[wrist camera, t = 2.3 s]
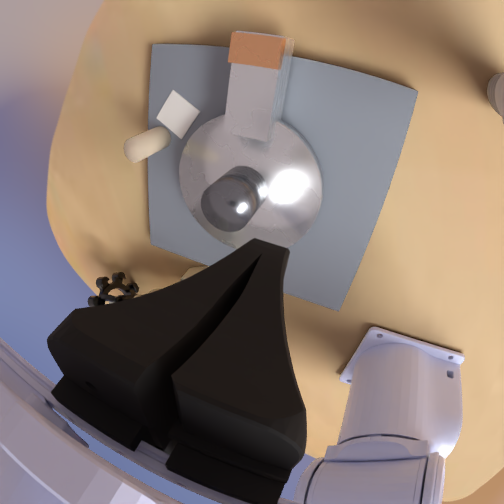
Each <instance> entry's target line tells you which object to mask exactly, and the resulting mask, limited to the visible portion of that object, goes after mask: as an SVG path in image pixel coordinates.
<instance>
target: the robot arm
mask: <svg viewBox="0 0 504 504" xmlns="http://www.w3.org/2000/svg"><path fill="white" fill-rule="evenodd" d="M289 255H290V251H289V249H288V248H285V247H282V246H279V245H276V244H272V243H269V242H266V241H263V240H260V239H256V238H253V239H251V240H250V241H248V242H247V243H245V244H244V245H242V246H241V247H239V248H238V249H236V250H235V251H233V252H232V253H230V254H229V255H227V256H226V257H224V258H222V259H221V260H219V261H217V262H216V263H214V264H213V265H211V266H209V267H207V268H205V269H203V270H202V271H200V272H198V273H196V274H194V275H192V276H190V277H188V278H186V279H184V280H182V281H180V282H178V283H175V284H173V285H171V286H168V287H166V288H163V289H160V290H157V291H154V292H151V293H148V294H145V295H142V296H139V297H135V298H131V299H128V300H124V301H119V302H115V303H110V304H105V305H99V306H93V307H87V308H79V309H75V310H74V311H72V312H71V313H70V314H69V315H68V316H67V318H65V320H64V321H63V322H62V323H61V324H60V325H59V326H58V327H57V328H56V329H55V330H54V331H53V332H52V334H50V335H49V337H48V339H47V344H48V348H49V350H50V352H51V354H52V356H53V358H54V359H55V361H56V363H57V364H58V366H59V368H60V369H61V371H62V372H63V374H64V376H63V377H62V379H61V380H60V381H59V382H58V384H57V385H56V384H54V383H53V382H52V381H50V380H49V379H48V378H47V377H45V376H44V375H43V374H41V373H40V372H39V371H38V370H37V369H35V368H34V367H33V366H32V365H31V364H29V363H28V362H27V361H26V360H25V359H23V358H22V357H21V356H20V355H19V354H17V352H15V351H14V350H13V349H12V348H11V347H10V346H9V345H8V344H7V343H6V342H4V341H3V340H2V339H1V338H0V504H183V503H181V502H179V501H177V500H175V499H173V498H170V497H169V496H167V495H165V494H163V493H161V492H159V491H157V490H155V489H154V488H152V487H150V486H148V485H146V484H145V483H143V482H141V481H139V480H138V479H136V478H134V477H132V476H131V475H129V474H127V473H125V472H124V471H122V470H120V469H119V468H117V467H116V466H114V465H113V464H111V463H109V462H108V461H106V460H104V459H103V458H102V457H100V456H98V455H97V454H95V453H94V452H92V451H91V450H89V449H88V448H89V446H88V444H87V443H86V442H85V441H84V440H83V439H82V438H80V437H79V436H78V435H77V434H76V433H75V432H74V431H73V430H72V429H71V427H70V426H69V425H68V423H67V422H66V421H65V420H64V419H62V418H61V417H60V416H59V415H58V414H57V413H56V412H54V411H53V409H52V408H54V409H55V410H56V411H57V412H59V413H60V414H61V415H63V416H64V417H65V418H67V419H68V420H69V421H71V422H72V423H73V424H75V425H76V426H78V427H79V428H81V429H82V430H83V431H85V432H86V433H88V434H89V435H91V436H92V437H94V438H95V439H97V440H98V441H100V442H101V443H103V444H104V445H106V446H108V447H109V448H111V449H112V450H114V451H115V452H117V453H119V454H120V455H122V456H124V457H126V458H127V459H129V460H131V461H133V462H134V463H136V464H138V465H140V466H141V467H143V468H145V469H147V470H149V471H151V472H153V473H155V474H156V475H159V476H160V477H162V478H165V479H166V480H169V481H171V482H173V483H175V484H177V485H179V486H181V487H184V488H185V489H188V490H190V491H192V492H195V493H197V494H199V495H202V496H204V497H207V498H209V499H211V500H214V501H217V502H219V503H222V504H442V497H443V488H444V477H445V458H446V457H447V456H448V455H449V454H450V452H451V451H452V450H453V448H454V446H455V445H456V442H457V440H458V438H459V435H460V431H461V427H462V418H463V413H462V387H461V372H460V365H461V363H462V362H463V361H464V360H465V356H464V354H462V353H459V352H455V351H452V350H449V349H446V348H442V347H439V346H436V345H432V344H429V343H426V342H423V341H419V340H416V339H413V338H410V337H407V336H403V335H400V334H397V333H394V332H391V331H388V330H385V329H382V328H378V327H371V328H370V329H369V330H368V332H367V333H366V335H365V337H364V338H363V340H362V342H361V343H360V345H359V347H358V348H357V350H356V351H355V353H354V355H353V356H352V358H351V359H350V361H349V362H348V364H347V366H346V367H345V369H344V370H343V372H342V373H341V375H340V378H339V380H340V381H341V382H344V383H347V384H351V386H350V391H349V396H348V400H347V405H346V409H345V413H344V418H343V422H342V426H341V430H340V434H339V438H338V442H337V445H334V446H328V447H327V451H326V454H325V457H321V458H317V459H315V460H314V461H313V462H312V463H311V464H310V465H309V466H308V467H307V468H306V469H305V471H304V472H303V474H302V475H301V477H300V479H299V481H298V484H297V487H296V490H295V495H294V501H291V500H287V499H284V498H280V495H281V493H282V490H283V488H284V485H285V483H287V481H288V479H289V476H290V473H291V470H292V469H293V468H294V467H295V466H296V465H297V464H298V463H299V461H300V460H301V459H302V458H303V456H304V453H305V448H306V440H307V421H306V408H305V405H304V403H303V400H302V397H301V394H300V391H299V388H298V385H297V381H296V378H295V374H294V370H293V366H292V362H291V357H290V353H289V348H288V343H287V336H286V329H285V321H284V307H283V283H284V276H285V272H286V268H287V263H288V259H289ZM379 334H381V335H379Z"/></svg>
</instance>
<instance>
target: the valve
mask: <svg viewBox="0 0 504 504" xmlns="http://www.w3.org/2000/svg"><path fill="white" fill-rule="evenodd" d="M207 267H208V266H203V267H192V268H189V269H188V270H187V272H186V273H185V274H184V275H183V276H182V277H181V281H182V280H184V279H186V278H188V277H190V276H192V275H194V274H196V273H198V272H200V271H202V270H203V269H205V268H207ZM123 279H126V277H125V274H124V273H123V272H116V273H114V274H113V275H112V281H113V282H112V283H110V284H109V283H108V282H107V281H108V280H109V278H108V277H99V278H97V280H96V285H97V287H98V288H100V294H99V296H90V297H89V298H88V304H89V306H90V307H93V306H99V305H105V301H109V304H110V303H115V302H119V301H124V300H128V299H131V298H135V297H139V296H142V295H137V294H136V293H138V291H139V287H138V285H137V284H136V283H128V284H127V285H126V286H125V285H124V284H122V281H123ZM179 282H180V281H179ZM177 283H178V282H177ZM115 288H116V289H119V290H120V291H122V292H123V294H124V295H118V296H112V295H108V293H109V292H110V291H111V290H112V289H115ZM157 290H160V289H154V290H152V291H150V292H149V293H151V292H154V291H157Z"/></svg>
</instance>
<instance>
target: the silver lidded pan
mask: <svg viewBox="0 0 504 504" xmlns="http://www.w3.org/2000/svg"><path fill="white" fill-rule="evenodd" d="M294 44H295V39H292V38H288V37H285V36H278V35H271V34H264V33H255V32H246V31H236V32H232V34H231V42H230V49H229V56H228V62H229V63H231V71H230V79H229V87H228V95H227V103H226V112H225V114H223V115H221V116H218V117H216V118H214V119H212V120H210V121H208V122H206V123H205V124H203V125H202V126H201V127H199V128H198V129H197V130H196V131H195V132H194V133H193V135H192V136H191V137H190V139H189V140H188V142H187V144H186V145H185V147H184V150H183V153H182V156H181V160H180V167H179V180H180V187H181V191H182V194H183V197H184V200H185V202H186V205H187V206H188V208H189V210H190V212H191V214H192V215H193V217H194V218H195V219H196V221H197V222H198V223H199V224H200V225H201V226H202V227H203V228H204V229H205V230H206V231H207V232H208V233H209V234H210V235H212V236H213V237H214V238H216V239H217V240H219V241H220V242H222V243H224V244H226V245H228V246H230V247H232V248H235V249H238V248H239V247H241V246H242V245H244V244H245V243H247V242H248V241H250V240H251V239H253V238H256V239H260V240H263V241H266V242H269V243H272V244H276V245H279V246H282V247H285V248H287V247H289V246H291V245H293V244H295V243H296V242H297V241H299V240H300V239H301V238H302V237H303V236H304V235H305V234H306V233H307V232H308V231H309V229H310V228H311V227H312V225H313V223H314V221H315V219H316V217H317V215H318V212H319V209H320V207H321V204H322V199H323V193H324V181H323V174H322V169H321V166H320V163H319V160H318V158H317V156H316V154H315V152H314V150H313V148H312V147H311V145H310V144H309V143H308V141H307V140H306V139H305V137H304V136H303V135H302V134H301V133H300V132H299V131H298V130H296V129H295V128H294V127H293V126H291V125H290V124H289V123H287V122H285V121H284V120H282V119H281V118H282V112H283V107H284V101H285V95H286V90H287V84H288V78H289V72H290V67H291V61H292V55H293V49H294Z"/></svg>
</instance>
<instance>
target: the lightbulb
mask: <svg viewBox="0 0 504 504" xmlns="http://www.w3.org/2000/svg"><path fill="white" fill-rule="evenodd" d="M487 95H488V99H489V102H490V104H491V106H492V107H493V109H494V110H495V111H496V112H497V113H498V114H499V115H501V116H502V118H503V124H504V73H499V74H496V75H494V76H493V77H492V78H491V79H490V81H489V83H488V87H487Z"/></svg>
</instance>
